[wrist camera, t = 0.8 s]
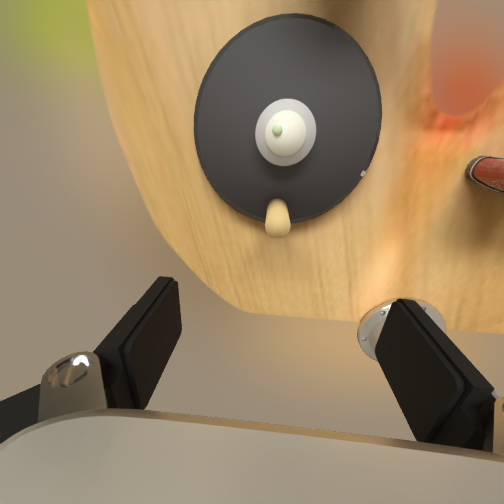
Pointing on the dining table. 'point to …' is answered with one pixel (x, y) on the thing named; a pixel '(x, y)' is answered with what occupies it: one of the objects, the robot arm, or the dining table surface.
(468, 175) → the lighter
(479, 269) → the dining table surface
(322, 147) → the wheel
